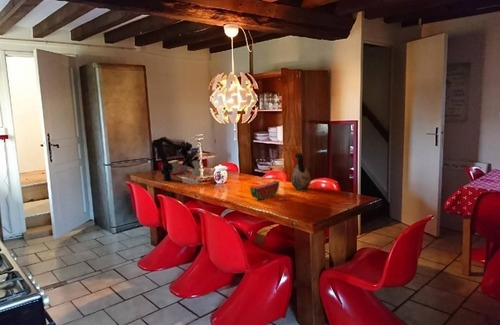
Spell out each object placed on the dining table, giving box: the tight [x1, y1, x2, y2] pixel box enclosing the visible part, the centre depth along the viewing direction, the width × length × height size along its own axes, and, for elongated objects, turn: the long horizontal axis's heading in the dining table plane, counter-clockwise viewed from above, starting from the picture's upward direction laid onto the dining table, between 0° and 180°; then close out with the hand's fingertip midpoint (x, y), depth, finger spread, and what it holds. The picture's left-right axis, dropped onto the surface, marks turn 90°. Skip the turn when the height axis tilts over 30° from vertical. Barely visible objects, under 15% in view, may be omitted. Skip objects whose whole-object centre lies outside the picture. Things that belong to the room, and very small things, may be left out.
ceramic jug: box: [290, 152, 312, 192], centre depth 288 cm, size 17×15×30 cm
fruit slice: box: [249, 180, 280, 200], centre depth 273 cm, size 26×6×10 cm, turn 134°
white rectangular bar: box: [181, 177, 200, 186], centre depth 327 cm, size 18×2×4 cm, turn 55°
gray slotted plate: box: [191, 160, 200, 178], centre depth 326 cm, size 6×3×13 cm, turn 152°
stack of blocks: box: [168, 159, 187, 176], centre depth 376 cm, size 21×6×12 cm, turn 141°
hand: (196, 167), depth 326 cm, fingers closed on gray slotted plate, 6 cm apart
